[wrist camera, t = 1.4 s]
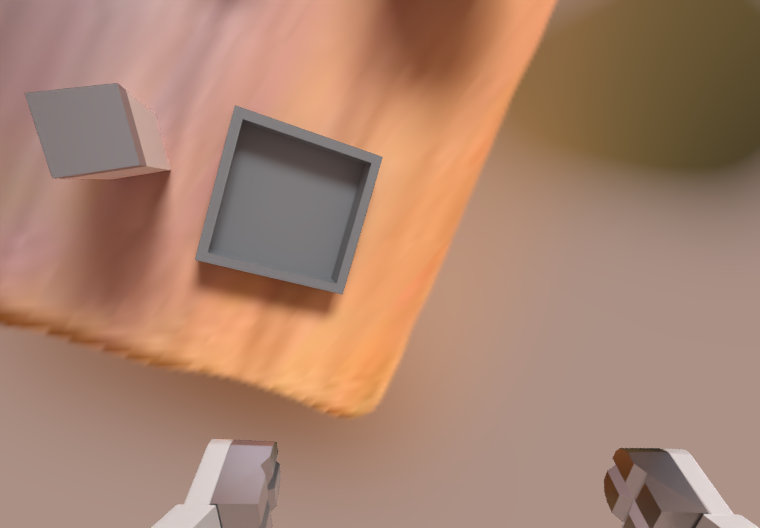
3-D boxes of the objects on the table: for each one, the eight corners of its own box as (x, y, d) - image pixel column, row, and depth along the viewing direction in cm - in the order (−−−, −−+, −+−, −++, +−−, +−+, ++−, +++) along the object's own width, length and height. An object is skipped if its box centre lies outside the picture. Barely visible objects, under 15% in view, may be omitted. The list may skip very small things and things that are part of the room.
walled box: (198, 254, 39) (194, 259, 36) (235, 110, 38) (235, 105, 35) (335, 287, 43) (342, 294, 40) (373, 158, 42) (382, 156, 39)
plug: (111, 179, 36) (52, 178, 25) (94, 121, 35) (24, 93, 24) (170, 170, 37) (140, 165, 26) (156, 113, 36) (117, 82, 25)
